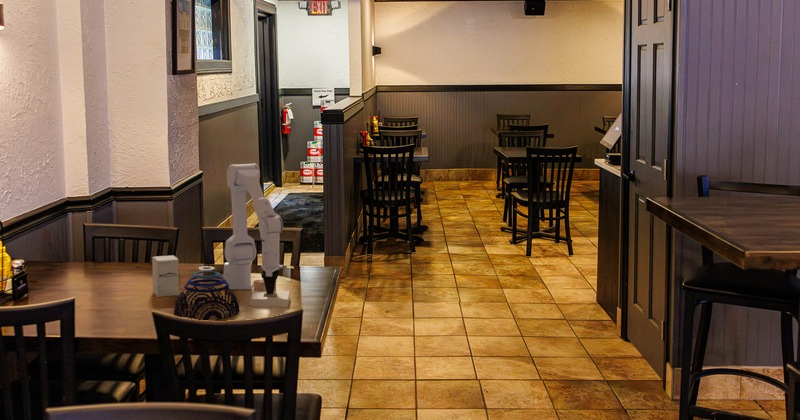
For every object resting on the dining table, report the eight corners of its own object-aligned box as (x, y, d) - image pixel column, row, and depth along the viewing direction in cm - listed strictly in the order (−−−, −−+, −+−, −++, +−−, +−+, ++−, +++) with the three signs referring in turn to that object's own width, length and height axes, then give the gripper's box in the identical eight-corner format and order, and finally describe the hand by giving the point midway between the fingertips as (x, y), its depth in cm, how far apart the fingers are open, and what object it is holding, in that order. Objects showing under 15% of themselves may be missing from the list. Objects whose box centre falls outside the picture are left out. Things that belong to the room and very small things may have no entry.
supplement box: (157, 297, 289) (156, 260, 286) (152, 292, 295) (151, 256, 293) (179, 295, 292) (178, 259, 290) (174, 290, 298) (173, 254, 296)
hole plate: (250, 306, 281) (250, 299, 281) (253, 298, 291) (253, 291, 291) (287, 306, 282) (287, 299, 282) (289, 298, 292) (289, 291, 292)
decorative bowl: (179, 324, 261) (179, 277, 259) (169, 306, 279) (168, 263, 277) (245, 318, 269) (245, 273, 267) (231, 301, 287) (231, 259, 285)
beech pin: (266, 303, 285) (266, 279, 284) (266, 300, 288) (266, 277, 287) (276, 303, 285) (276, 279, 284) (276, 300, 289) (276, 277, 287)
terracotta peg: (252, 297, 292) (252, 283, 291) (254, 293, 297) (254, 279, 296) (267, 297, 293) (267, 283, 292) (268, 293, 297) (268, 279, 297)
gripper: (281, 257, 277) (281, 298, 279) (284, 247, 291) (284, 287, 294) (259, 257, 277) (259, 298, 279) (263, 247, 291) (263, 286, 293)
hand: (270, 292), depth 286 cm, fingers closed on beech pin, 3 cm apart
